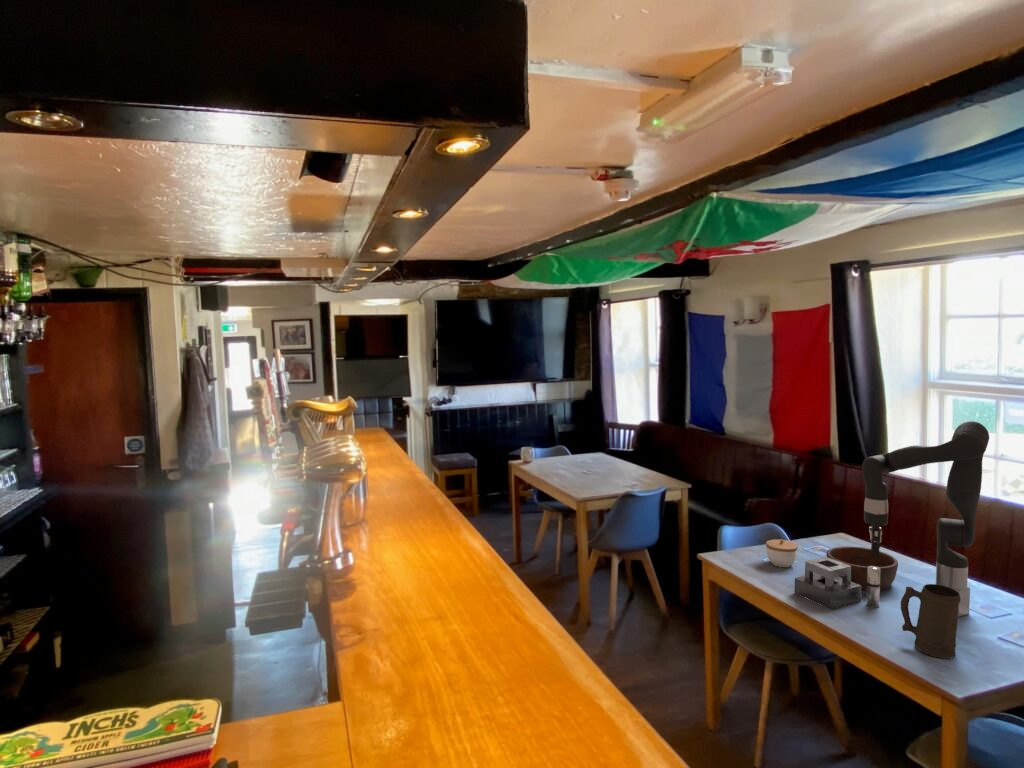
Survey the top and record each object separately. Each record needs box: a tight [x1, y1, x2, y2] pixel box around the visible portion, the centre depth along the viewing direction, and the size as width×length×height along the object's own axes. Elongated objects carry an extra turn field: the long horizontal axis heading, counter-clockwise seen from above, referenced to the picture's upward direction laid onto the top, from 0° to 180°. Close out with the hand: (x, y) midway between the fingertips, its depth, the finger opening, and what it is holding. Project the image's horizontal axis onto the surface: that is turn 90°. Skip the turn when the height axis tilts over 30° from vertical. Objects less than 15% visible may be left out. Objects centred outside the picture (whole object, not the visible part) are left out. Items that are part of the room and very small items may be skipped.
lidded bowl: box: [765, 538, 799, 568], centre depth 268 cm, size 13×13×11 cm
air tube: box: [866, 566, 881, 608], centre depth 227 cm, size 4×4×14 cm
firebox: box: [794, 556, 862, 610], centre depth 235 cm, size 16×16×13 cm
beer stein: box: [900, 583, 961, 659], centre depth 195 cm, size 15×11×20 cm
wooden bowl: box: [826, 545, 899, 591], centre depth 249 cm, size 25×25×10 cm
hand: (875, 554), depth 226 cm, fingers open, 8 cm apart
